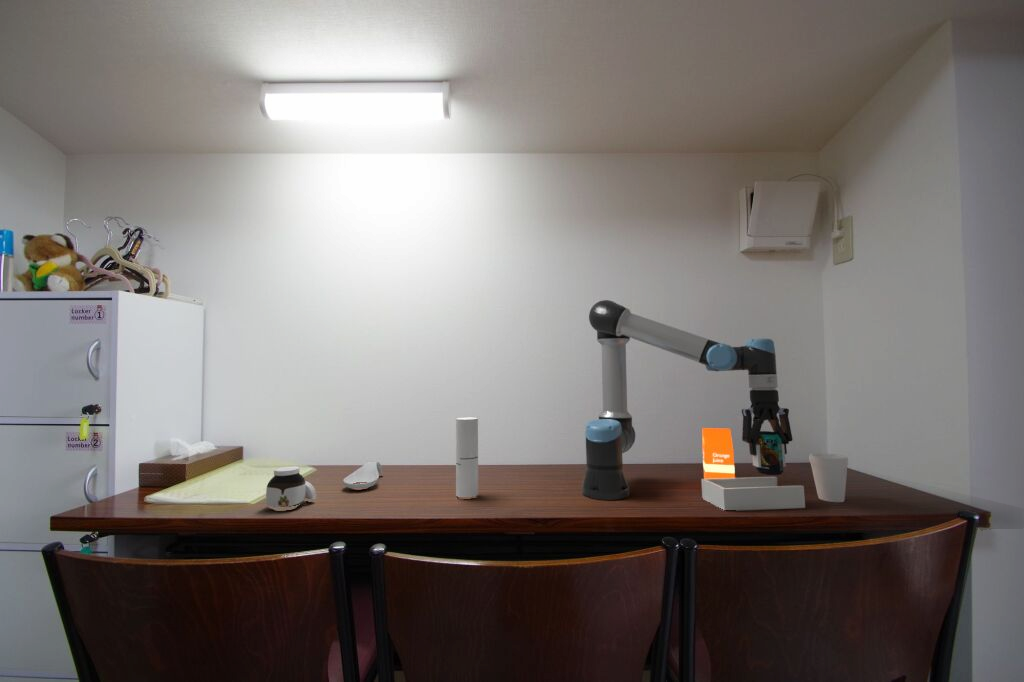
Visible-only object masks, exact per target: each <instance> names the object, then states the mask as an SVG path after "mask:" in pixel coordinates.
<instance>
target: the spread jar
mask: <svg viewBox="0 0 1024 682" xmlns="http://www.w3.org/2000/svg"><path fill="white" fill-rule="evenodd" d="M273 475H274V476H273V477H272V478H271V479H270V480H269V481H268V483H267V485H266V490H265V504H266V506H267V507H268V506H273V507H291V506H296V505H299V504H301V503H302V502H305V501H304V499H305V498H307V499H312V500H313V499H314V500H316V498H317V492H316V489H315V487H314V486H313V485H312V484H311V482H309V481H306V480H305V477H304V476H303V475H302V474H300V467H299V466H296V465H295V466H294V465H293V466H292V465H291V466H282V467H278V468H274V469H273ZM314 500H313V501H314ZM302 504H303V503H302ZM302 504H301V505H302Z"/></svg>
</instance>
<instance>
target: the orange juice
mask: <svg viewBox="0 0 1024 682" xmlns="http://www.w3.org/2000/svg"><path fill="white" fill-rule="evenodd" d="M701 433H702V440H701V441H702V442H701V444H702V448H701V449H702V467H703V479H714V478H736V475H735V473H736V471H735V469H736V468H735V458H734V456H735V455H734V446H733V437H732V434H731V428H722V427H721V428H720V427H719V428H717V427H716V428H715V427H713V428H712V427H702V431H701Z"/></svg>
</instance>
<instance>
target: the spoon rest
mask: <svg viewBox="0 0 1024 682" xmlns="http://www.w3.org/2000/svg"><path fill="white" fill-rule="evenodd" d="M379 473H383V474H384V471H383V467H382V464H381V463H380V462H379V461H374V462H372V461H368V462H366V463H365V464H363V465H362V466H361V467H358V469H356V470H355V471H353V472H351V474H349V475H347V476H346V477H345V478H343V480H342V484H344V486H345V487H346V488H347V487H348V489H349V488H366V487H371V486H372V487H373V486H375V485H376V484H377V482H378V481H379V478H380V477H379ZM356 482H367V483H360V484H353V483H356ZM372 487H371V488H372Z"/></svg>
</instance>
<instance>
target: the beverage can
mask: <svg viewBox="0 0 1024 682" xmlns="http://www.w3.org/2000/svg"><path fill="white" fill-rule="evenodd" d="M757 444H758V445H760V457H761V467H756V466H755V469H756V471H757V472H758V473H760V474H763V475H769V476H779V475H782V474H783V473H784V466H783V458H782V445H781V438H780V437H779V436H778V433H777V432H774V431H767V430H766V431H764V430H760V434H759V437H758V441H757Z"/></svg>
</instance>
